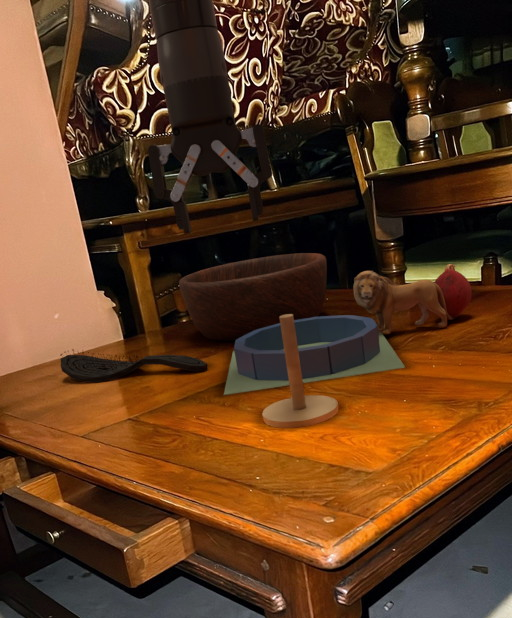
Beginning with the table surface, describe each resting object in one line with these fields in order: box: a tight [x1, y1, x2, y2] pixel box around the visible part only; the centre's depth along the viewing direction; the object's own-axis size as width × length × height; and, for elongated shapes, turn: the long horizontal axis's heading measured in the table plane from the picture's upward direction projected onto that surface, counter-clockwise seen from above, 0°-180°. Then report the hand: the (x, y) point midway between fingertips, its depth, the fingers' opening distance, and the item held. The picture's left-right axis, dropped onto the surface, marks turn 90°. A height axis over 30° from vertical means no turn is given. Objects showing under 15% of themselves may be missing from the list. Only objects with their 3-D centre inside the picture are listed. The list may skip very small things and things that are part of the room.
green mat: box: [223, 330, 406, 396], centre depth 93 cm, size 22×22×1 cm
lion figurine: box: [352, 270, 454, 335], centre depth 98 cm, size 15×5×9 cm, turn 101°
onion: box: [433, 263, 473, 320], centre depth 101 cm, size 6×6×8 cm
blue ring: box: [233, 314, 380, 380], centre depth 93 cm, size 19×19×4 cm
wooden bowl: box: [178, 252, 328, 342], centre depth 118 cm, size 25×25×10 cm
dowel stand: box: [261, 314, 339, 429], centre depth 71 cm, size 8×8×11 cm
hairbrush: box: [60, 348, 209, 383], centre depth 103 cm, size 8×4×25 cm
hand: (221, 226), depth 85 cm, fingers open, 8 cm apart
